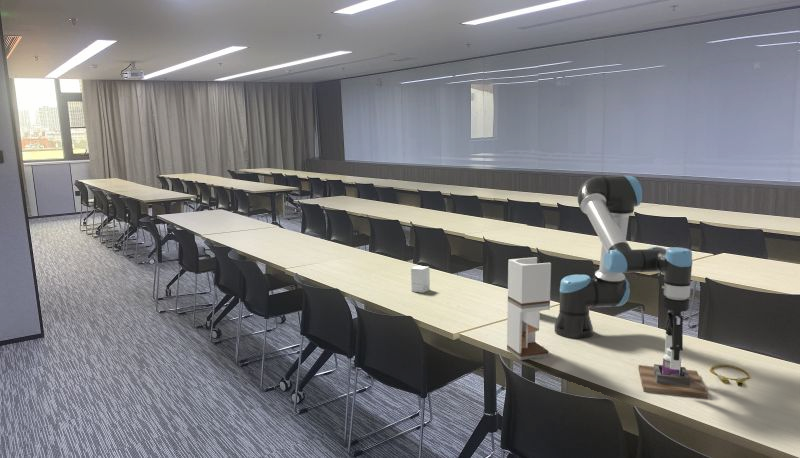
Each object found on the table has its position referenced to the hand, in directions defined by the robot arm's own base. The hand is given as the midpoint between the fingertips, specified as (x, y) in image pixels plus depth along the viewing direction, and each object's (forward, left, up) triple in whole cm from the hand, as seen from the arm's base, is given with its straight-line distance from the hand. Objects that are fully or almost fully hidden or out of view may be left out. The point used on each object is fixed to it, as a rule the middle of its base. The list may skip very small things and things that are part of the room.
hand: (672, 361), depth 185 cm
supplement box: (-88, -109, -8) cm, 140 cm away
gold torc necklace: (-12, +19, -8) cm, 24 cm away
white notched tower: (-14, -47, -8) cm, 50 cm away
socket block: (0, 0, -7) cm, 7 cm away
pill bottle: (0, 0, -6) cm, 6 cm away
